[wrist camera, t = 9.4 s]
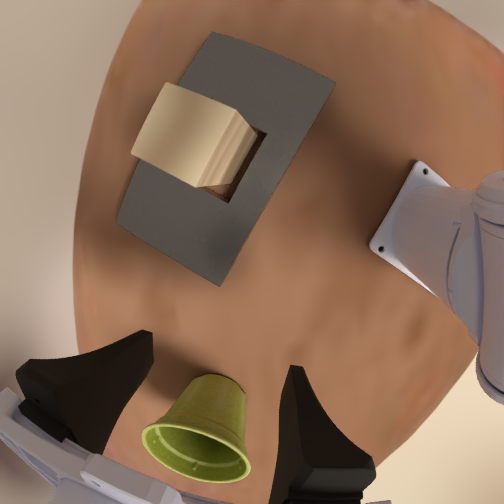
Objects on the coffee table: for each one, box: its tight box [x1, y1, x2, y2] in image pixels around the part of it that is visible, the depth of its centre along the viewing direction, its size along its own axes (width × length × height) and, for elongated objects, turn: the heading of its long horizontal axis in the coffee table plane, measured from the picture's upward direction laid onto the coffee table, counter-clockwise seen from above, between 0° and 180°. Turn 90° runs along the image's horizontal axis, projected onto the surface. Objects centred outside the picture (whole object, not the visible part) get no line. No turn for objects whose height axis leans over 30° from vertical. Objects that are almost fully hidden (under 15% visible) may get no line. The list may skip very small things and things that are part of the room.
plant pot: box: [142, 374, 251, 483], centre depth 21 cm, size 9×9×9 cm
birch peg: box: [131, 82, 258, 188], centre depth 15 cm, size 4×4×8 cm
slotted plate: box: [115, 32, 336, 287], centre depth 19 cm, size 10×17×2 cm, turn 151°
